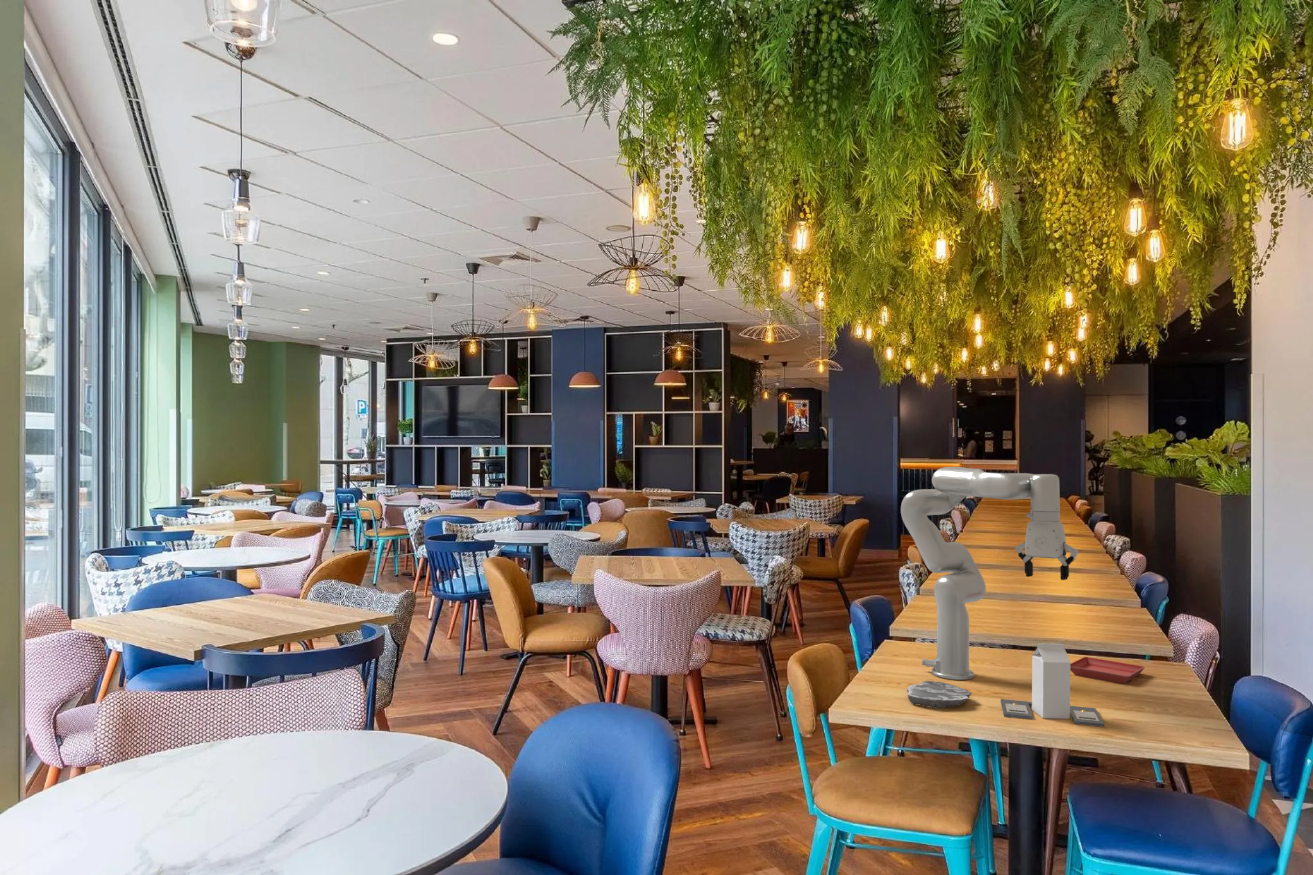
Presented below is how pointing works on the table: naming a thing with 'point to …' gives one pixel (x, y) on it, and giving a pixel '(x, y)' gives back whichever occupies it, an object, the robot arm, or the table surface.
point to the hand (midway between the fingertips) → (1046, 577)
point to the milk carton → (1051, 681)
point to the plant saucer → (1105, 669)
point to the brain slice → (937, 694)
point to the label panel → (1077, 713)
